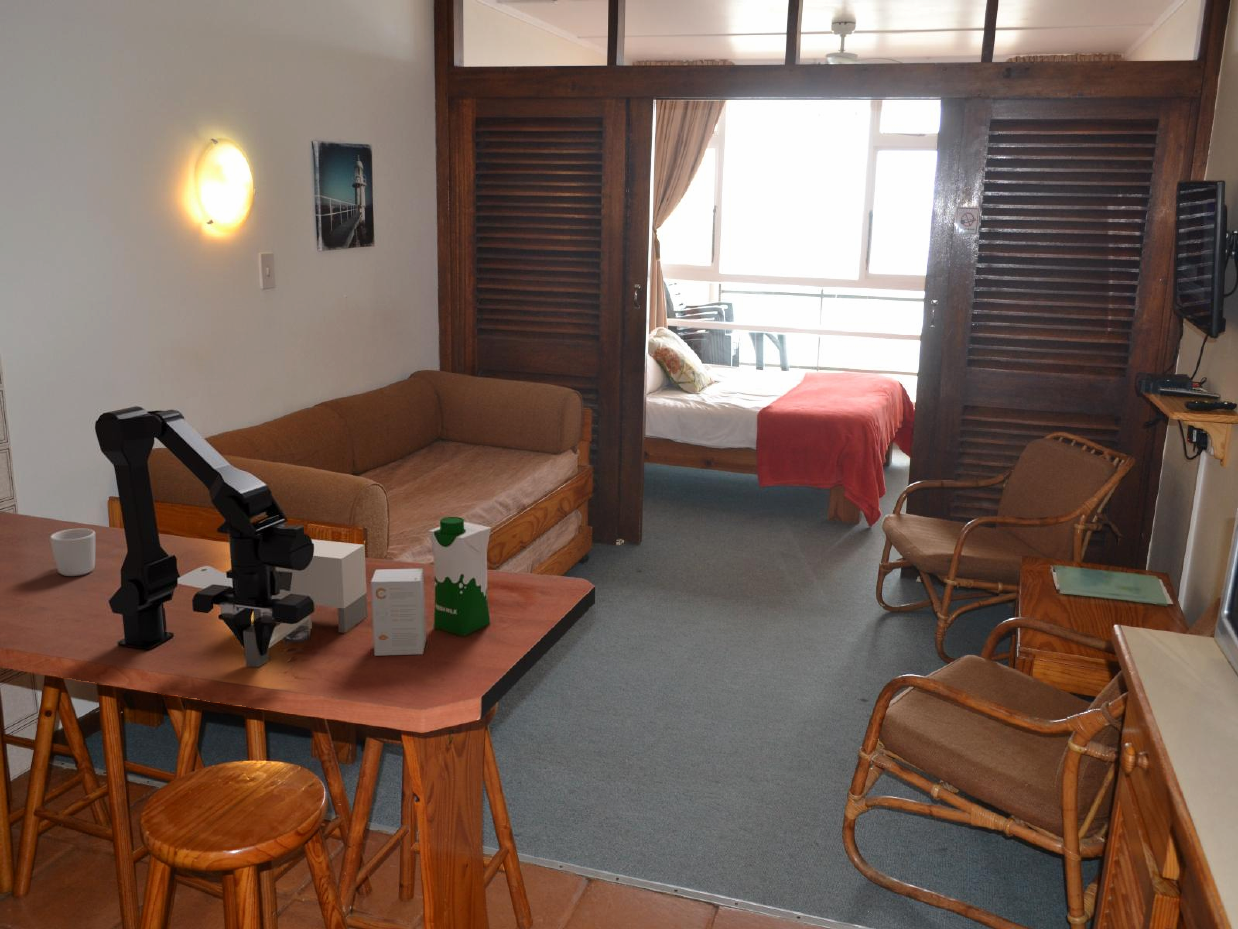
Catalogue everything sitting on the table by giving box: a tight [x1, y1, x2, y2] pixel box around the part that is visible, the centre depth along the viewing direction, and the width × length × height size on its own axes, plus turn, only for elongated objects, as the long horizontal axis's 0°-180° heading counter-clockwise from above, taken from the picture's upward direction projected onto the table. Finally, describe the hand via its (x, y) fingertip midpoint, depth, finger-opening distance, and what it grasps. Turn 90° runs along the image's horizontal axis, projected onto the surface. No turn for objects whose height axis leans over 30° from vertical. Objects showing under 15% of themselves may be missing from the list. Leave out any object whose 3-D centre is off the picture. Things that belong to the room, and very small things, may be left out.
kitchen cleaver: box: [177, 565, 233, 590], centre depth 203 cm, size 31×2×10 cm
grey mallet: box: [243, 614, 313, 668], centre depth 176 cm, size 16×2×6 cm, turn 165°
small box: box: [370, 568, 427, 657], centre depth 176 cm, size 8×6×13 cm
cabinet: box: [252, 538, 369, 634], centre depth 188 cm, size 8×18×14 cm, turn 75°
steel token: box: [282, 626, 311, 644], centre depth 181 cm, size 4×4×2 cm
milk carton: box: [428, 516, 492, 637], centre depth 185 cm, size 9×9×20 cm
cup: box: [49, 528, 96, 577], centre depth 212 cm, size 11×8×8 cm
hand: (256, 653), depth 170 cm, fingers closed on grey mallet, 2 cm apart
